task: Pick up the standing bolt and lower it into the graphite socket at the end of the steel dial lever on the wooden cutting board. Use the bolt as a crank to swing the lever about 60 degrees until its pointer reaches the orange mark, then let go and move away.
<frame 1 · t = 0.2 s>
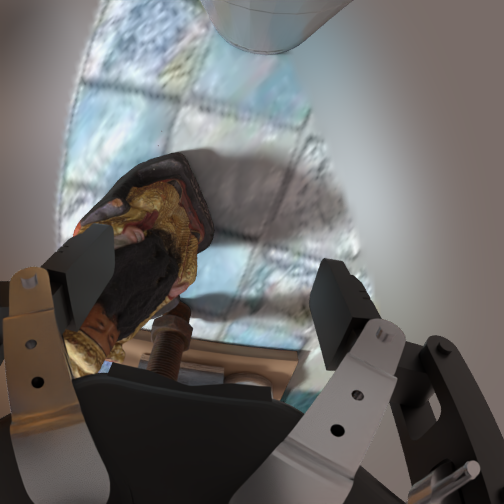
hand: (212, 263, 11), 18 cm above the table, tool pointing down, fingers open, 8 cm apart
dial: (197, 398, 37), point 5 cm above the table, hinge at 0.0°
bolt: (178, 307, 35), on the table
statue: (167, 194, 28), on the table
wooden cutting board: (244, 377, 42), on the table
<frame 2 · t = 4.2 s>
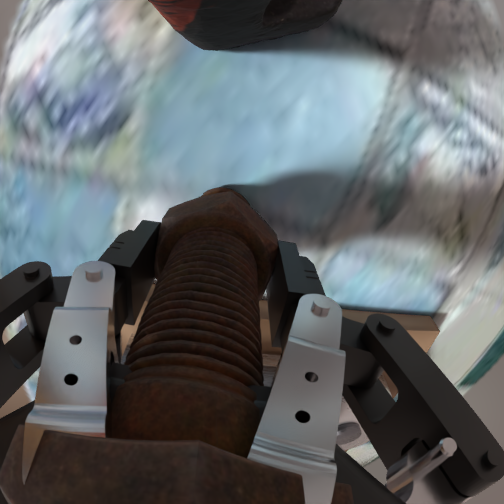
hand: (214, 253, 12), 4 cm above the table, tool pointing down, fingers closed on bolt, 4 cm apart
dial: (251, 427, 17), point 5 cm above the table, hinge at 0.0°
bolt: (223, 213, 16), on the table, touching gripper
wooden cutting board: (330, 378, 22), on the table
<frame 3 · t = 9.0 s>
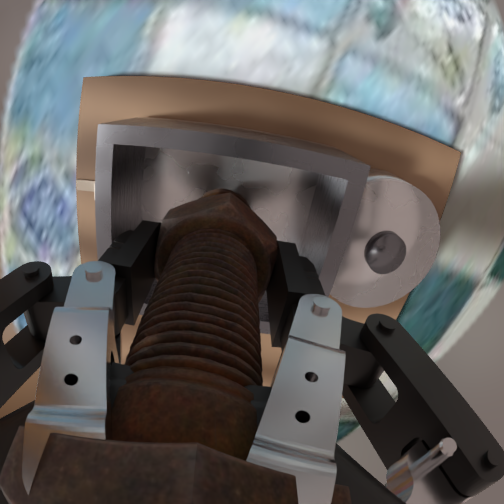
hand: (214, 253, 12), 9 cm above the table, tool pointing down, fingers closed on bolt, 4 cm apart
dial: (270, 228, 15), point 5 cm above the table, hinge at 0.0°
bolt: (223, 214, 16), point 4 cm above the table, touching gripper
wooden cutting board: (355, 217, 20), on the table
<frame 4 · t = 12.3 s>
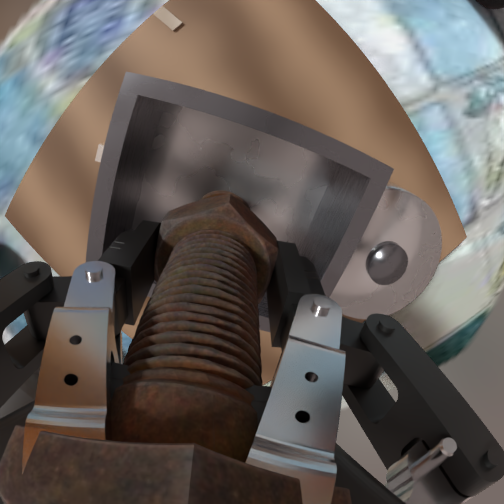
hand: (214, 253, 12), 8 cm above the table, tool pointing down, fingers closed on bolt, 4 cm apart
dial: (277, 219, 15), point 5 cm above the table, hinge at 28.4°, touching bolt
bolt: (223, 216, 16), point 4 cm above the table, touching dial, gripper
wooden cutting board: (355, 227, 20), on the table
candle holder: (66, 329, 24), on the table
when the fingers open (8 cm above the table, at t = 14.0 s): bolt stays where it is, resting on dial.
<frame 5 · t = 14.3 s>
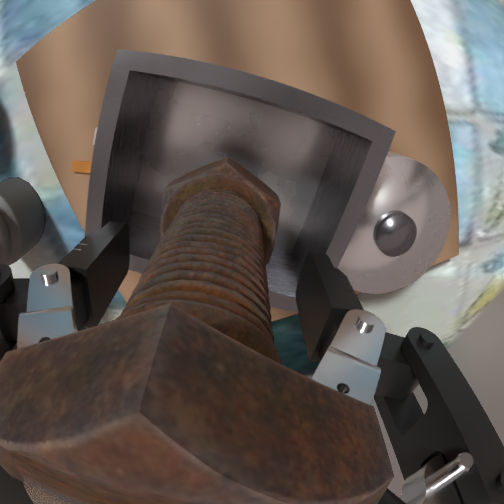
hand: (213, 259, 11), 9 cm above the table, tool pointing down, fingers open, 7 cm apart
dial: (279, 191, 14), point 5 cm above the table, hinge at 52.8°, touching bolt
bolt: (226, 189, 16), point 3 cm above the table, touching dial
wooden cutting board: (361, 201, 19), on the table
candle holder: (20, 212, 19), on the table
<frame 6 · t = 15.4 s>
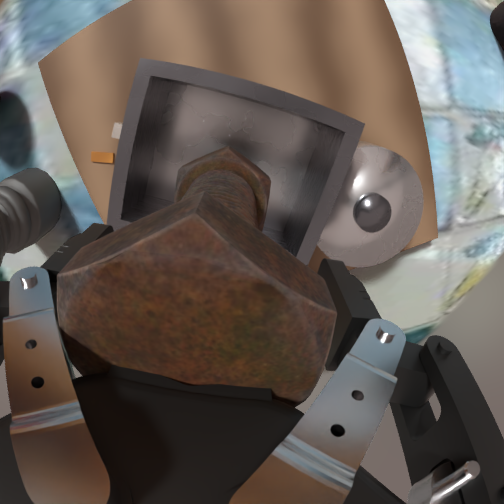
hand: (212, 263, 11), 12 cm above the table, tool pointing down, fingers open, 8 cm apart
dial: (271, 175, 17), point 5 cm above the table, hinge at 52.8°, touching bolt
bolt: (227, 175, 19), point 3 cm above the table, touching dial
wooden cutting board: (345, 188, 22), on the table
candle holder: (36, 200, 22), on the table
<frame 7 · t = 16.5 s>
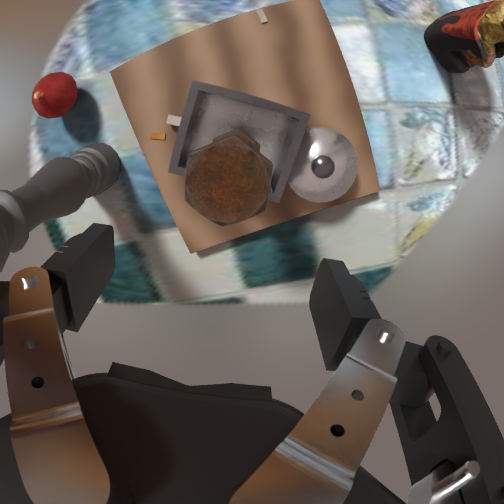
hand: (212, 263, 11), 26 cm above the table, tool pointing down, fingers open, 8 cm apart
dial: (262, 145, 29), point 5 cm above the table, hinge at 52.8°, touching bolt
bolt: (236, 147, 31), point 3 cm above the table, touching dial
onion: (70, 94, 29), on the table
statue: (452, 38, 26), on the table
wooden cutting board: (312, 157, 34), on the table
candle holder: (100, 165, 34), on the table
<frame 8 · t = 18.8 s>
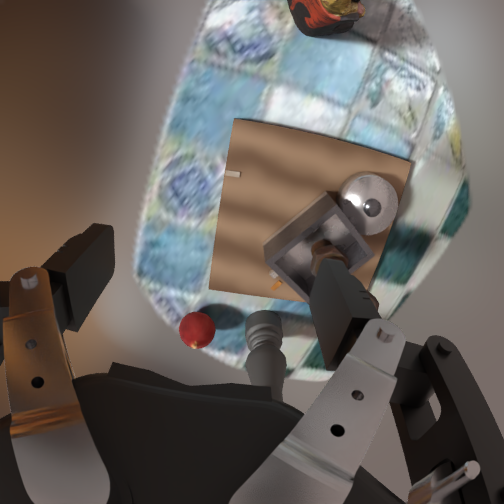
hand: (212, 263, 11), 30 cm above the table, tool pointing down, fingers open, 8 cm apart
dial: (332, 237, 39), point 5 cm above the table, hinge at 52.8°, touching bolt
bolt: (321, 247, 41), point 3 cm above the table, touching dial
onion: (199, 314, 50), on the table
statue: (313, 2, 28), on the table
wooden cutting board: (358, 195, 41), on the table
candle holder: (263, 323, 51), on the table
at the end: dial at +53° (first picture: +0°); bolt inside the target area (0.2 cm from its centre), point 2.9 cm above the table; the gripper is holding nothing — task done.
